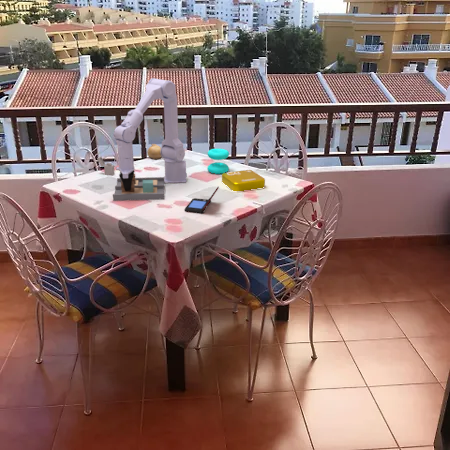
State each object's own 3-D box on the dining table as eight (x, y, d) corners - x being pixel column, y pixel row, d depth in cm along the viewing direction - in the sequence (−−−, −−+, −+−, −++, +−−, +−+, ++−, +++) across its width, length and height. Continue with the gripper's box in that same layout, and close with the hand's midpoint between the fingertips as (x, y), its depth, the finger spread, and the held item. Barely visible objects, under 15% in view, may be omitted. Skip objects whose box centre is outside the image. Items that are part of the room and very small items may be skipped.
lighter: (114, 174, 217) (113, 157, 214) (113, 175, 216) (111, 158, 212) (100, 173, 219) (98, 156, 215) (98, 174, 217) (97, 157, 214)
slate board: (164, 182, 208) (164, 177, 207) (164, 199, 190) (164, 193, 189) (117, 183, 206) (117, 178, 205) (113, 200, 188) (112, 194, 187)
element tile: (234, 193, 199) (234, 182, 197) (220, 182, 211) (220, 172, 209) (266, 189, 204) (266, 178, 202) (250, 178, 217) (250, 168, 215)
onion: (165, 156, 245) (164, 142, 242) (160, 160, 238) (160, 146, 235) (150, 155, 246) (149, 141, 243) (145, 159, 239) (144, 145, 236)
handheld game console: (193, 200, 190) (192, 183, 187) (219, 203, 188) (219, 185, 185) (183, 212, 179) (183, 194, 176) (211, 215, 177) (211, 196, 174)
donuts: (233, 150, 221) (220, 155, 213) (232, 170, 225) (220, 176, 217) (215, 146, 226) (203, 151, 218) (215, 166, 230) (203, 172, 223)
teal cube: (153, 189, 196) (152, 179, 194) (153, 192, 192) (152, 183, 190) (143, 189, 195) (142, 179, 193) (143, 192, 192) (142, 183, 190)
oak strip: (157, 189, 198) (156, 178, 196) (157, 195, 191) (156, 184, 189) (122, 190, 196) (121, 178, 194) (121, 196, 189) (120, 185, 187)
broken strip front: (138, 182, 205) (137, 171, 203) (137, 188, 198) (136, 177, 196) (124, 182, 205) (123, 171, 203) (122, 188, 198) (122, 177, 196)
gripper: (117, 151, 193) (119, 183, 198) (113, 162, 180) (116, 196, 185) (134, 151, 194) (136, 183, 199) (132, 162, 180) (134, 195, 186)
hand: (128, 189), depth 192 cm, fingers closed on oak strip, 2 cm apart
